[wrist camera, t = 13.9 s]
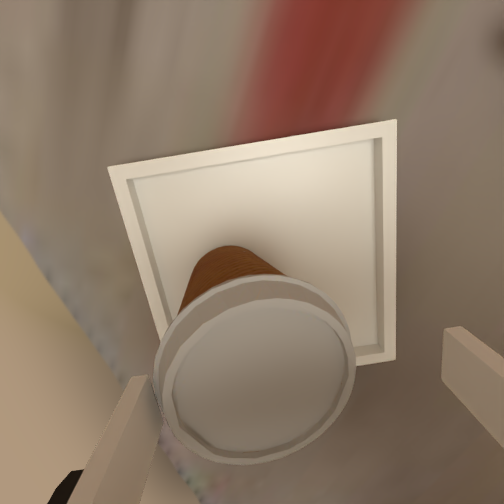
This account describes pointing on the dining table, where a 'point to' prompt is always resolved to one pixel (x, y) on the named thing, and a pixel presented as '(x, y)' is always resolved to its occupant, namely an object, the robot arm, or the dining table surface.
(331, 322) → the disposable coffee cup
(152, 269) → the tray
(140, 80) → the dining table surface
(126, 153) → the dining table surface
